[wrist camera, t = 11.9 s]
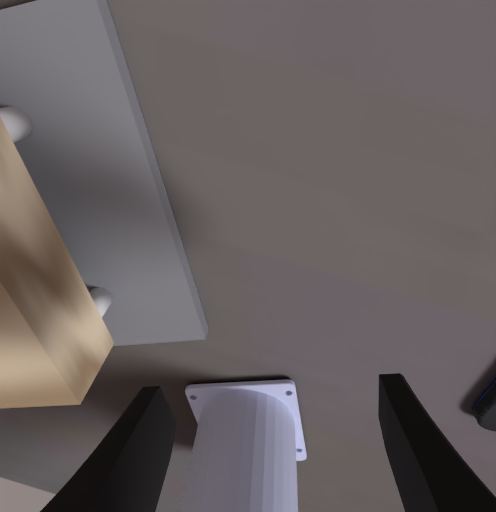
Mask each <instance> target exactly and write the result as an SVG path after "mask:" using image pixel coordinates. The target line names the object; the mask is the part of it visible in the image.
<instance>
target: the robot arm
mask: <svg viewBox="0 0 496 512" xmlns="http://www.w3.org/2000/svg"><path fill="white" fill-rule="evenodd" d="M185 394H186V396H187V399H188V401H189V404H190V406H191V409H192V411H193V414H194V416H195V419H196V421H197V424H198V427H197V432H196V436H195V441H194V445H193V450H192V454H191V459H190V464H189V468H188V473H187V477H186V482H185V486H184V491H183V496H182V500H181V505H180V509H179V512H298V497H297V468H296V461H302V460H305V459H306V449H305V442H304V436H303V430H302V424H301V418H300V412H299V406H298V400H297V394H296V388H295V383H294V382H293V381H292V380H288V379H286V380H267V381H248V382H229V383H211V384H192V385H188V386H187V387H186V389H185ZM379 421H380V425H381V430H382V435H383V439H384V444H385V448H386V452H387V456H388V459H389V462H390V465H391V468H392V471H393V475H394V478H395V481H396V484H397V487H398V490H399V493H400V497H401V500H402V503H403V506H404V509H405V512H496V497H495V496H494V495H493V494H492V492H491V491H490V490H489V489H488V488H487V487H486V486H485V485H484V483H483V482H482V481H481V480H480V479H479V478H478V476H477V475H476V474H475V473H474V472H473V471H472V469H471V468H470V467H469V466H468V465H467V463H466V462H465V461H464V460H463V459H462V457H461V456H460V455H459V454H458V452H457V451H456V450H455V449H454V447H453V446H452V445H451V444H450V442H449V441H448V440H447V438H446V437H445V436H444V434H443V433H442V432H441V431H440V429H439V428H438V427H437V425H436V424H435V423H434V421H433V420H432V419H431V417H430V416H429V414H428V413H427V412H426V410H425V409H424V407H423V406H422V404H421V403H420V401H419V400H418V398H417V397H416V395H415V394H414V392H413V391H412V389H411V388H410V386H409V385H408V383H407V381H406V380H405V378H404V376H403V375H401V374H400V373H399V374H380V375H379ZM175 429H176V421H175V419H174V417H173V415H172V412H171V410H170V408H169V406H168V404H167V401H166V399H165V397H164V395H163V393H162V390H161V388H160V386H154V387H143V388H142V389H141V390H140V392H139V393H138V394H137V395H136V397H135V398H134V399H133V401H132V402H131V403H130V405H129V406H128V407H127V409H126V410H125V411H124V413H123V414H122V415H121V417H120V418H119V419H118V421H117V422H116V423H115V425H114V426H113V427H112V429H111V430H110V431H109V432H108V434H107V435H106V436H105V437H104V439H103V440H102V441H101V443H100V444H99V445H98V446H97V448H96V449H95V450H94V451H93V453H92V454H91V455H90V456H89V457H88V459H87V460H86V461H85V462H84V463H83V465H82V466H81V467H80V468H79V469H78V470H77V472H76V473H75V474H74V475H73V476H72V478H71V479H70V480H69V481H68V482H67V483H66V484H65V485H64V487H63V488H62V489H61V490H60V491H59V492H58V493H57V494H56V495H55V496H54V498H53V499H52V500H51V501H50V502H49V503H48V504H47V505H46V506H45V507H44V508H43V509H42V510H41V511H40V512H155V510H156V507H157V503H158V500H159V496H160V493H161V489H162V486H163V482H164V479H165V475H166V472H167V468H168V465H169V461H170V457H171V453H172V447H173V442H174V435H175Z"/></svg>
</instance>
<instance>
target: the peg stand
mask: <svg viewBox="0 0 496 512" xmlns="http://www.w3.org/2000/svg"><path fill="white" fill-rule="evenodd" d="M0 117H1V119H2V121H3V123H4V125H5V127H6V129H7V131H8V133H9V135H10V137H11V139H12V141H13V143H14V145H15V147H16V149H17V151H18V153H19V155H20V157H21V159H22V161H23V163H24V165H25V167H26V169H27V171H28V173H29V175H30V177H31V179H32V181H33V183H34V185H35V187H36V189H37V191H38V192H39V194H40V196H41V198H42V200H43V202H44V204H45V206H46V208H47V210H48V212H49V214H50V216H51V218H52V220H53V222H54V224H55V226H56V228H57V230H58V232H59V234H60V236H61V238H62V240H63V242H64V244H65V246H66V248H67V250H68V252H69V254H70V256H71V258H72V260H73V262H74V264H75V266H76V268H77V270H78V272H79V274H80V276H81V278H82V280H83V282H84V284H85V286H86V288H87V290H88V292H89V294H90V296H91V298H92V299H93V301H94V303H95V305H96V307H97V309H98V311H99V313H100V315H101V317H102V319H103V321H104V323H105V325H106V327H107V329H108V331H109V333H110V335H111V337H112V339H113V341H114V345H113V346H123V345H136V344H150V343H163V342H177V341H190V340H204V339H206V336H207V332H208V325H207V322H206V319H205V315H204V312H203V309H202V306H201V302H200V299H199V296H198V293H197V290H196V286H195V283H194V280H193V277H192V273H191V270H190V267H189V264H188V261H187V257H186V254H185V251H184V248H183V245H182V241H181V238H180V235H179V232H178V228H177V225H176V222H175V219H174V216H173V212H172V209H171V206H170V203H169V199H168V196H167V193H166V190H165V187H164V183H163V180H162V177H161V174H160V171H159V167H158V164H157V161H156V158H155V154H154V151H153V148H152V145H151V142H150V138H149V135H148V132H147V129H146V125H145V122H144V119H143V116H142V113H141V109H140V106H139V103H138V100H137V97H136V93H135V90H134V87H133V84H132V80H131V77H130V74H129V71H128V68H127V64H126V61H125V58H124V55H123V51H122V48H121V45H120V42H119V39H118V35H117V32H116V29H115V26H114V23H113V19H112V16H111V13H110V10H109V6H108V3H107V0H36V1H32V2H29V3H25V4H21V5H17V6H13V7H9V8H5V9H1V10H0Z"/></svg>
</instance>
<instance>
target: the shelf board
mask: <svg viewBox="0 0 496 512" xmlns="http://www.w3.org/2000/svg"><path fill="white" fill-rule="evenodd" d="M113 345H114V341H113V339H112V337H111V335H110V333H109V331H108V329H107V327H106V325H105V323H104V321H103V319H102V317H101V315H100V313H99V311H98V309H97V307H96V305H95V303H94V301H93V299H92V298H91V296H90V294H89V292H88V290H87V288H86V286H85V284H84V282H83V280H82V278H81V276H80V274H79V272H78V270H77V268H76V266H75V264H74V262H73V260H72V258H71V256H70V254H69V252H68V250H67V248H66V246H65V244H64V242H63V240H62V238H61V236H60V234H59V232H58V230H57V228H56V226H55V224H54V222H53V220H52V218H51V216H50V214H49V212H48V210H47V208H46V206H45V204H44V202H43V200H42V198H41V196H40V194H39V192H38V191H37V189H36V187H35V185H34V183H33V181H32V179H31V177H30V175H29V173H28V171H27V169H26V167H25V165H24V163H23V161H22V159H21V157H20V155H19V153H18V151H17V149H16V147H15V145H14V143H13V141H12V139H11V137H10V135H9V133H8V131H7V129H6V127H5V125H4V123H3V121H2V119H1V117H0V408H19V407H40V406H61V405H80V404H81V402H82V401H83V399H84V397H85V395H86V393H87V392H88V390H89V388H90V386H91V384H92V383H93V381H94V379H95V377H96V375H97V374H98V372H99V370H100V368H101V366H102V365H103V363H104V361H105V359H106V357H107V356H108V354H109V352H110V350H111V348H112V347H113Z"/></svg>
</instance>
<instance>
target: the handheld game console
mask: <svg viewBox="0 0 496 512" xmlns="http://www.w3.org/2000/svg"><path fill="white" fill-rule="evenodd" d="M473 414H474V417H475V418H476V419H477V422H478V424H479V425H480V426H481V427H483V428H485V429H487V430H491V431H496V380H495V382H494V383H493V384H492V385H491V386H490V387H489V389H488V390H487V391H486V392H485V393H484V395H483V396H482V397H481V398H480V399H479V400H478V402H477V403H476V404H475V406H474V410H473Z"/></svg>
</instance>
